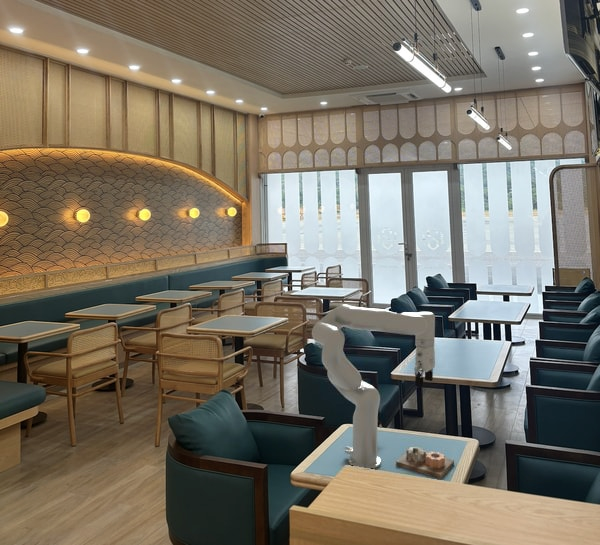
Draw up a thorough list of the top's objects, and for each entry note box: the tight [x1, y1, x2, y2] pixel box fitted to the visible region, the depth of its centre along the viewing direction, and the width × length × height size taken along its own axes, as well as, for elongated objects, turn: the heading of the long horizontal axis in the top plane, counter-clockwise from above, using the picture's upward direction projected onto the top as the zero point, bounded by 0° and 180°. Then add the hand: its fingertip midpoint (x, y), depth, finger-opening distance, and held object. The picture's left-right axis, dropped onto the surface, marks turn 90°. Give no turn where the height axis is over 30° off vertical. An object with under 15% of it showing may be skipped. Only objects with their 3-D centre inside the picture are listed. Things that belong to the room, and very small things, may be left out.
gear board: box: [395, 446, 455, 479], centre depth 203 cm, size 18×14×6 cm
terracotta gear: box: [426, 450, 446, 468], centre depth 201 cm, size 7×7×3 cm
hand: (424, 383), depth 214 cm, fingers open, 9 cm apart
